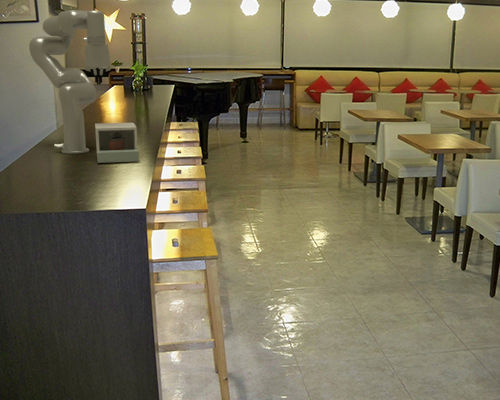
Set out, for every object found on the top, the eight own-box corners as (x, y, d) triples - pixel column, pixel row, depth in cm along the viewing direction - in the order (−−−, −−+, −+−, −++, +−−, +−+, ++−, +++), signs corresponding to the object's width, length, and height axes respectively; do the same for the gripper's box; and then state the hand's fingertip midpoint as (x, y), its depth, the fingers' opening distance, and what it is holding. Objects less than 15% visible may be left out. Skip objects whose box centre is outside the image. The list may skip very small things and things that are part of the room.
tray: (139, 161, 255) (138, 151, 254) (97, 162, 250) (97, 152, 249) (135, 153, 273) (134, 144, 272) (96, 154, 269) (96, 145, 268)
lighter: (121, 153, 266) (120, 131, 264) (126, 154, 264) (125, 131, 262) (107, 156, 260) (106, 133, 258) (112, 156, 258) (111, 133, 256)
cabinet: (138, 160, 260) (136, 127, 256) (97, 162, 255) (95, 128, 252) (134, 153, 277) (133, 122, 273) (96, 155, 272) (95, 123, 269)
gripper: (78, 40, 250) (81, 85, 254) (114, 40, 253) (116, 84, 258) (78, 40, 257) (81, 84, 261) (113, 41, 260) (116, 83, 265)
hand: (98, 84), depth 260 cm, fingers closed
